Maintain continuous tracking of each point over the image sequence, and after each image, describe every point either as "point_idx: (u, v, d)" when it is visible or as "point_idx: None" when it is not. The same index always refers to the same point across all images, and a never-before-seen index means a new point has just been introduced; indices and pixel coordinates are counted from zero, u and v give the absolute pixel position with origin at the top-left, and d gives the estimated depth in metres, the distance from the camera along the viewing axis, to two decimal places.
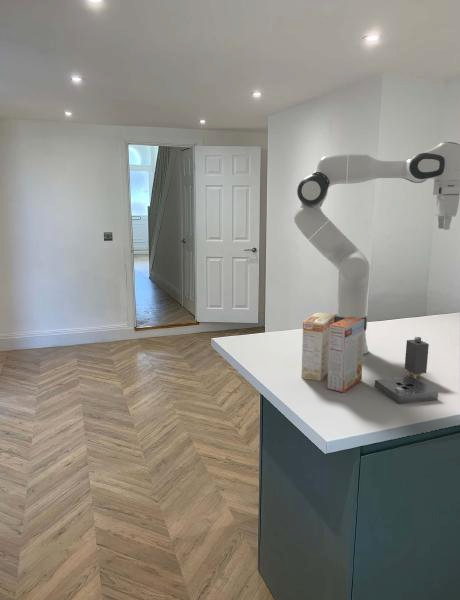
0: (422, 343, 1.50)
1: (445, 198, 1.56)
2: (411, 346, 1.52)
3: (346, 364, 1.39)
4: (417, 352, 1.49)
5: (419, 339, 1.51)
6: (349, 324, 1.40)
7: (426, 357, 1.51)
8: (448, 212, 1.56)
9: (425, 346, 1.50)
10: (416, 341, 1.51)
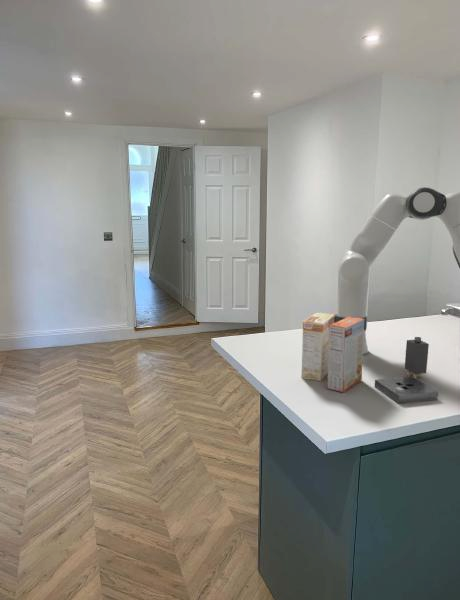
0: (422, 343, 1.50)
1: None
2: (411, 346, 1.52)
3: (346, 364, 1.39)
4: (417, 352, 1.49)
5: (419, 339, 1.51)
6: (349, 324, 1.40)
7: (426, 357, 1.51)
8: None
9: (425, 346, 1.50)
10: (416, 341, 1.51)
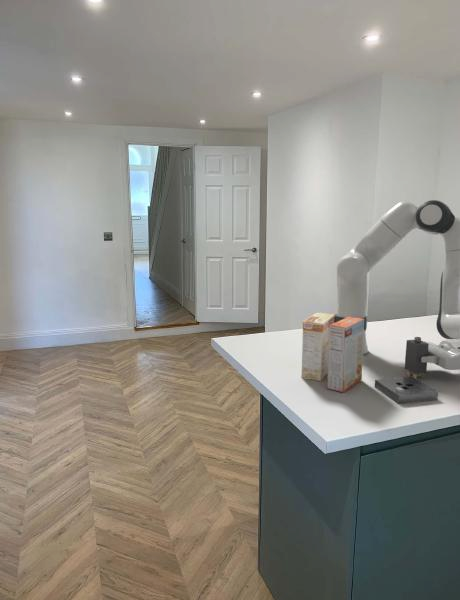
0: (422, 343, 1.50)
1: None
2: (411, 346, 1.52)
3: (346, 364, 1.39)
4: (417, 352, 1.49)
5: (419, 339, 1.51)
6: (349, 324, 1.40)
7: None
8: (450, 362, 1.44)
9: (425, 346, 1.50)
10: (416, 341, 1.51)
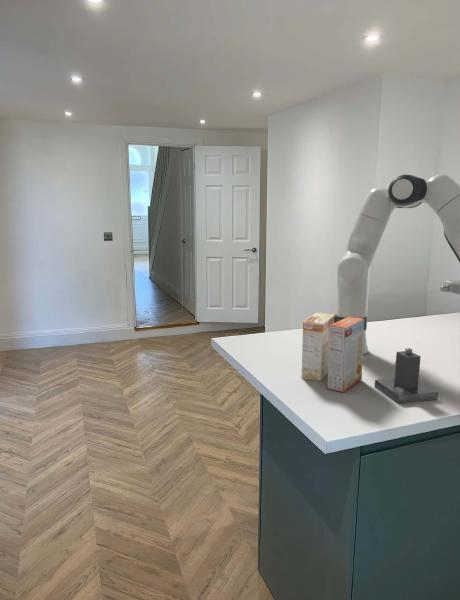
0: (413, 355, 1.36)
1: None
2: (401, 358, 1.38)
3: (346, 364, 1.39)
4: (408, 366, 1.35)
5: (410, 351, 1.37)
6: (349, 324, 1.40)
7: (418, 371, 1.36)
8: None
9: (417, 359, 1.36)
10: (407, 353, 1.37)
